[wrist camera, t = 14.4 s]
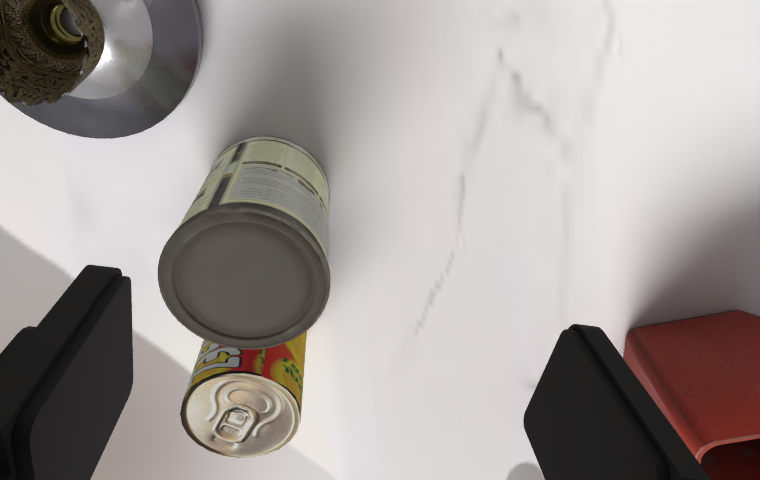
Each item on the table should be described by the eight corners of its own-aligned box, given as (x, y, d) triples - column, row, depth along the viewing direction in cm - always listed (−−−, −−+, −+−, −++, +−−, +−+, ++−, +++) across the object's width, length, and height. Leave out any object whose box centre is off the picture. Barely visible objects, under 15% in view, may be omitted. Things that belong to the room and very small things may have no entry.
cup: (5, -52, 33) (-84, -54, 26) (128, -29, 34) (76, -25, 27) (22, 69, 36) (-52, 96, 29) (134, 86, 37) (88, 116, 30)
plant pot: (745, 409, 62) (875, 550, 47) (588, 436, 62) (668, 586, 47) (781, 277, 53) (955, 401, 38) (596, 309, 53) (699, 445, 38)
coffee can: (318, 255, 47) (312, 360, 35) (201, 234, 45) (152, 338, 33) (342, 149, 43) (346, 227, 30) (214, 121, 41) (162, 192, 28)
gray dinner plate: (-62, -144, 32) (-82, -149, 30) (208, -81, 34) (202, -83, 33) (-22, 112, 39) (-36, 118, 37) (198, 148, 41) (193, 155, 40)
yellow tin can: (321, 300, 49) (318, 392, 39) (287, 367, 53) (276, 468, 43) (229, 269, 47) (200, 358, 37) (200, 341, 51) (166, 441, 40)
